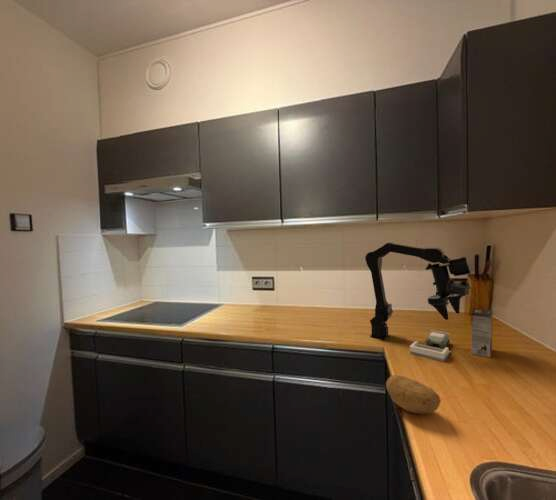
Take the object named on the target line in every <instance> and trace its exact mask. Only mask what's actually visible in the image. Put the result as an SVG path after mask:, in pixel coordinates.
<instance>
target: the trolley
mask: <svg viewBox="0 0 556 500" xmlns="http://www.w3.org/2000/svg"><path fill="white" fill-rule="evenodd" d="M424 341H425V342H424V343H425V344H426V346H431V347H432V346H433V344H435V345H438V348H440V349H445V347H447V345H450V343H451V340H450V333H448V332H445V331H436V330H434V329H433V330H432V329H431V330H430V333H429V335H428V336H427V338H426V339H425V340H424ZM447 348H448V347H447Z"/></svg>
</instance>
